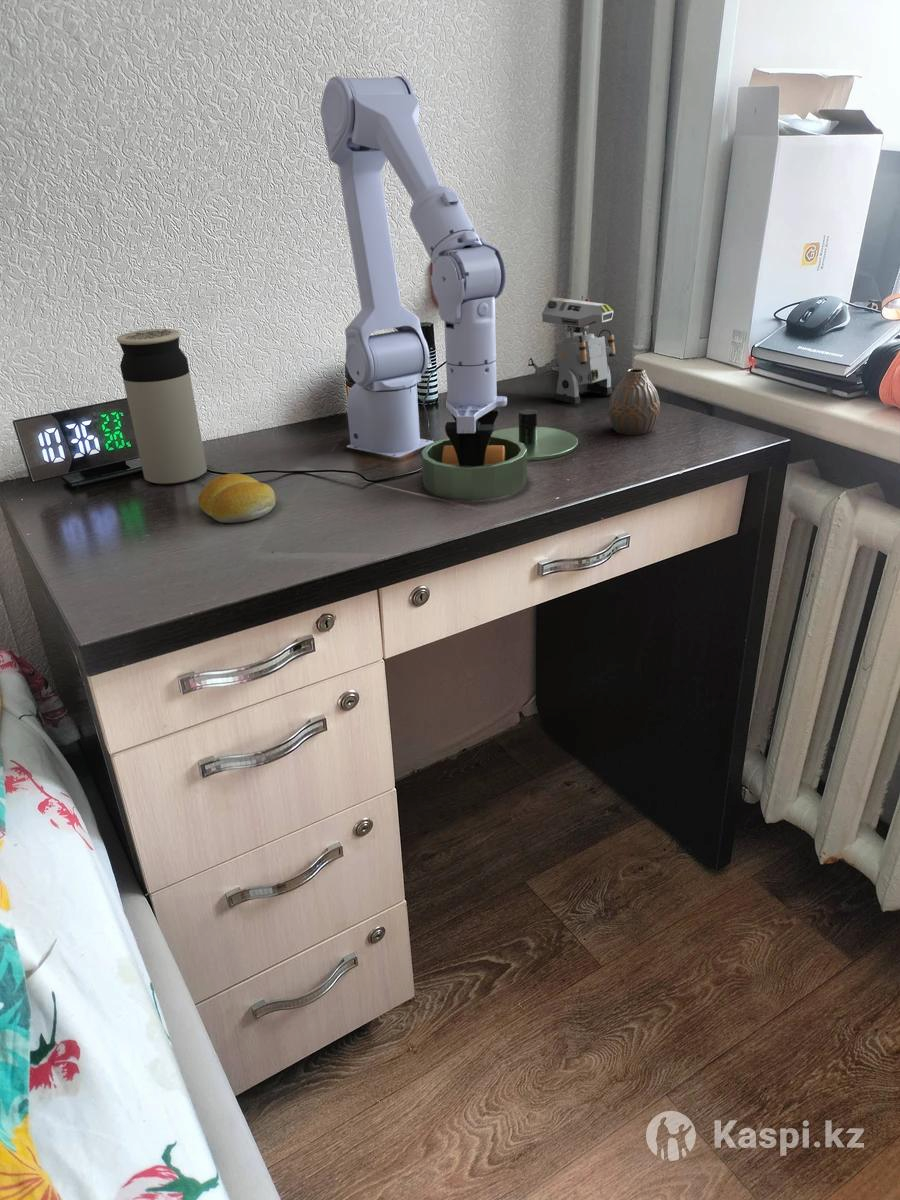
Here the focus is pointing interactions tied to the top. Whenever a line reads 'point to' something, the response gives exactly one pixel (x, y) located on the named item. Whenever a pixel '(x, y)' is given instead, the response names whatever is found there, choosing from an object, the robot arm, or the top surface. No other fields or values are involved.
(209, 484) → the bread roll
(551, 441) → the lid
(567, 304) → the figurine
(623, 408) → the vase
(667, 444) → the top surface
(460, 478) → the pot
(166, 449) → the travel mug
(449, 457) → the loaf
